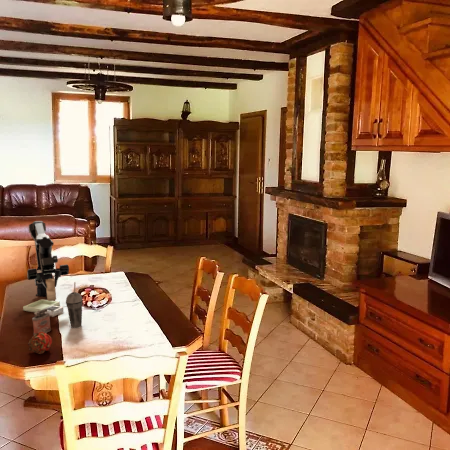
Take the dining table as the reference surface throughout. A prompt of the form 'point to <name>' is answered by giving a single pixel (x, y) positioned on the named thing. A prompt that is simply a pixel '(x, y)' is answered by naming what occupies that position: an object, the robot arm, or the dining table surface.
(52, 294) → the pin
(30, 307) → the tray
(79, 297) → the beverage cup
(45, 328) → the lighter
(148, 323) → the dining table surface
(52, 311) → the pin socket
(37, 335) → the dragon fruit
